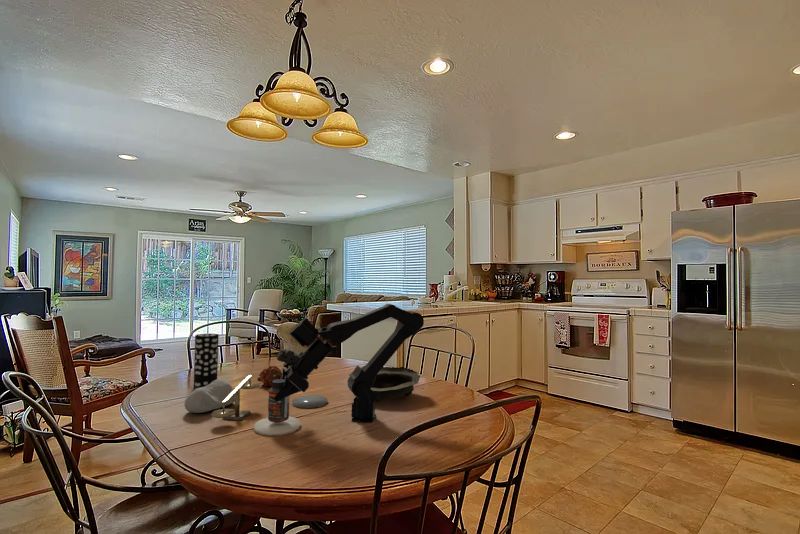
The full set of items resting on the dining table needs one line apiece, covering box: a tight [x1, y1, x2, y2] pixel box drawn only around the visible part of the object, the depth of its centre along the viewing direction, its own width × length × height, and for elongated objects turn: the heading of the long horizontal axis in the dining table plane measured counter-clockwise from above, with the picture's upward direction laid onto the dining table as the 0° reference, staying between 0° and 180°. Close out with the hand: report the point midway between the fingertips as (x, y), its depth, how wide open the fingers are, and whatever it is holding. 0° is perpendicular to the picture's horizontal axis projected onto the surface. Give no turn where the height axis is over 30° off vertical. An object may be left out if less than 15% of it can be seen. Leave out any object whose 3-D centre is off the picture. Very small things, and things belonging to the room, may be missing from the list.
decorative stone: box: [184, 378, 235, 414], centre depth 136 cm, size 17×10×10 cm
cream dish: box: [253, 416, 302, 437], centre depth 121 cm, size 13×13×1 cm
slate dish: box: [291, 394, 328, 409], centre depth 145 cm, size 12×12×1 cm
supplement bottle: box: [267, 379, 290, 422], centre depth 121 cm, size 6×6×11 cm
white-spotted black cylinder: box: [193, 333, 219, 389], centre depth 163 cm, size 8×8×20 cm
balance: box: [211, 374, 261, 422], centre depth 129 cm, size 6×22×11 cm, turn 172°
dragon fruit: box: [257, 365, 283, 388], centre depth 166 cm, size 8×8×12 cm
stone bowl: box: [371, 366, 421, 402], centre depth 155 cm, size 25×25×9 cm
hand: (274, 397), depth 121 cm, fingers closed on supplement bottle, 6 cm apart
